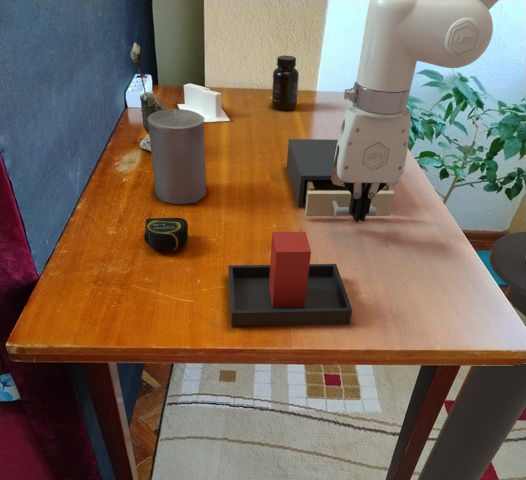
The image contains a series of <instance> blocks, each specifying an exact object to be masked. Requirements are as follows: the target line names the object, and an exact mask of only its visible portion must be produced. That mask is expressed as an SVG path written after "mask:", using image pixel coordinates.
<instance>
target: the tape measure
mask: <svg viewBox="0 0 526 480" xmlns="http://www.w3.org/2000/svg"><path fill="white" fill-rule="evenodd" d="M188 231H189V223H188V221H187V220H186V219H185V218H181V217H149V218H145V228H144V234H143V238H144V241H145V243H146V244H147V245H148V247H150V248H151V249H152V250H154V251H158V252H172V251H177V250H180V249H182V248H184V247H185V246H186V245H187V244H188V240H189V232H188Z"/></svg>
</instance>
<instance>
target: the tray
mask: <svg viewBox="0 0 526 480" xmlns="http://www.w3.org/2000/svg"><path fill="white" fill-rule="evenodd" d="M227 268H228V269H227V272H228V275H227V276H228V277H227V278H228V279H227V280H228V294H229V295H228V296H229V309H230V323H231V324H230V325H231V328H234V327H235V328H237V327H239V328H241V327H272V326H273V327H276V326H279V327H280V326H316V325H317V326H319V325H349V324H351V319H352V315H353V311H354V310H353V307H352V305H351V302H350V299H349V296H348V294H347V290H346V288H345V285H344V282H343V280H342V276H341V274H340V270H339V268H338V265H337V263H310V265H309V273H308V281H307V289H306V297H305V305H304V307H287V308H272V302H271V296H270V290H269V277H270V264H233V265H232V264H229V265H228V267H227Z"/></svg>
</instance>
